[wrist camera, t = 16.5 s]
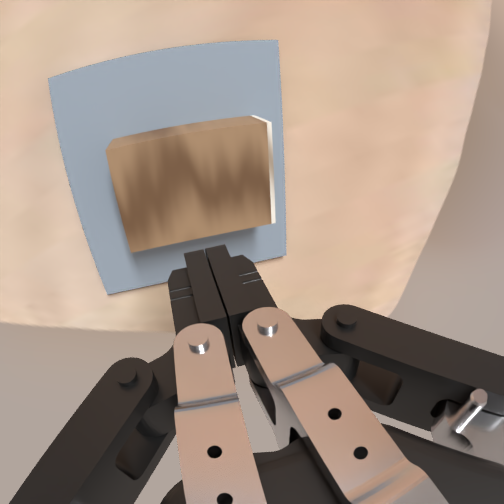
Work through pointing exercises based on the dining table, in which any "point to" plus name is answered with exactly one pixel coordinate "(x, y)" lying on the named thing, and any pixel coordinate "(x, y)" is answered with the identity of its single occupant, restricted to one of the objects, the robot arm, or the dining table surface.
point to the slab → (193, 180)
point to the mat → (157, 117)
